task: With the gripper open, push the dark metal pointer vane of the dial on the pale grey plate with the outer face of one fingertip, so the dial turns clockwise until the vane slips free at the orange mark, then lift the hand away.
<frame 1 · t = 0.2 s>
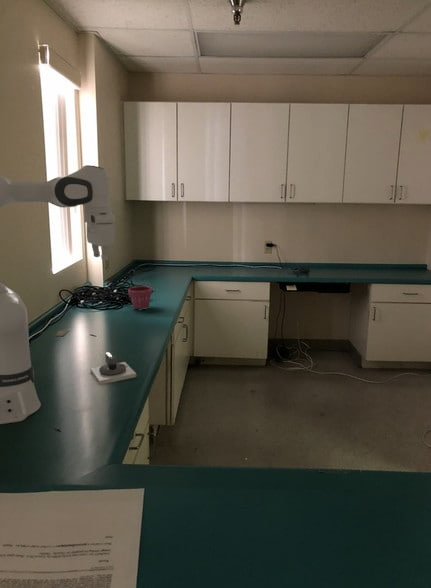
hand: (100, 258, 150), 47 cm above the worktop, tool pointing down, fingers open, 8 cm apart
dial: (111, 363, 173), point 4 cm above the worktop, hinge at 0.0°
plant pot: (141, 309, 275), on the worktop
dial base: (113, 374, 173), on the worktop
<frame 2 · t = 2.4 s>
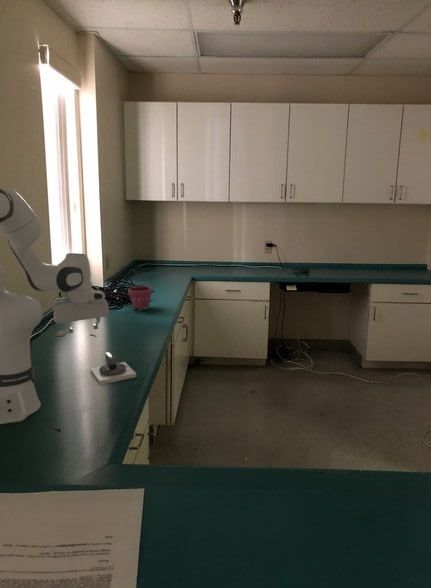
hand: (83, 330, 170), 18 cm above the worktop, tool pointing down, fingers open, 8 cm apart
nothing on the worktop moved.
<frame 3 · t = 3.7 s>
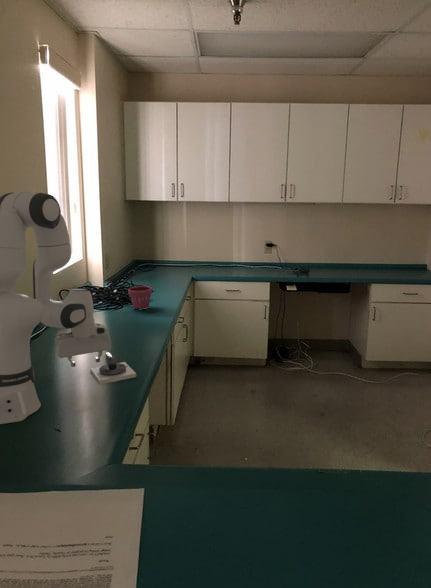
hand: (85, 364, 173), 4 cm above the worktop, tool pointing down, fingers open, 8 cm apart
nothing on the worktop moved.
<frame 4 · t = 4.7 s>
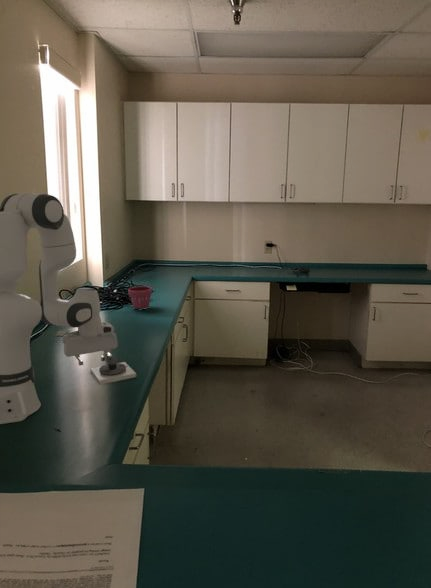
hand: (92, 362, 174), 4 cm above the worktop, tool pointing down, fingers open, 7 cm apart
dial: (111, 363, 173), point 4 cm above the worktop, hinge at 0.0°, touching gripper
everything else where it was.
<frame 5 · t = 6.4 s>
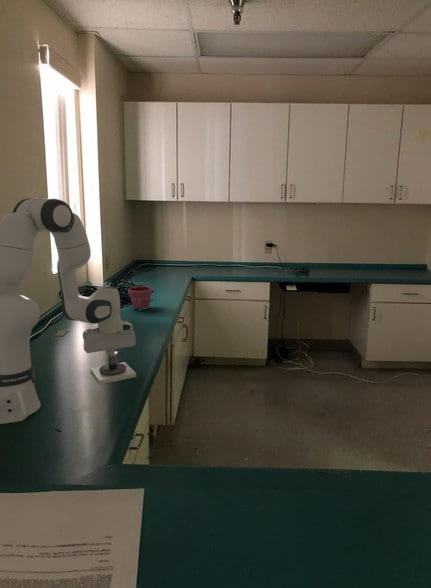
hand: (110, 359, 178), 4 cm above the worktop, tool pointing down, fingers closed
dial: (113, 363, 173), point 4 cm above the worktop, hinge at -30.2°, touching gripper
everything else where it was.
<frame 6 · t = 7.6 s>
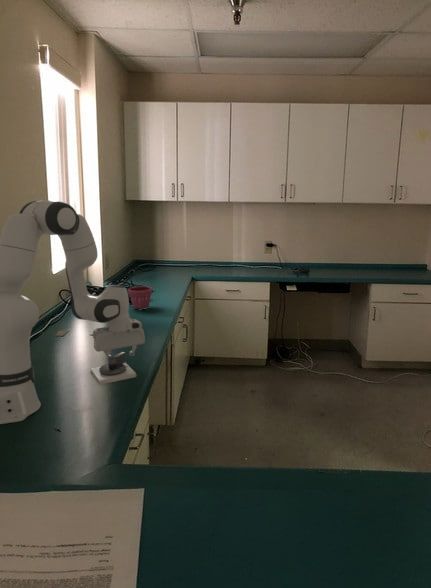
hand: (120, 357, 180), 4 cm above the worktop, tool pointing down, fingers open, 8 cm apart
dial: (114, 363, 173), point 4 cm above the worktop, hinge at -56.9°
everything else where it was.
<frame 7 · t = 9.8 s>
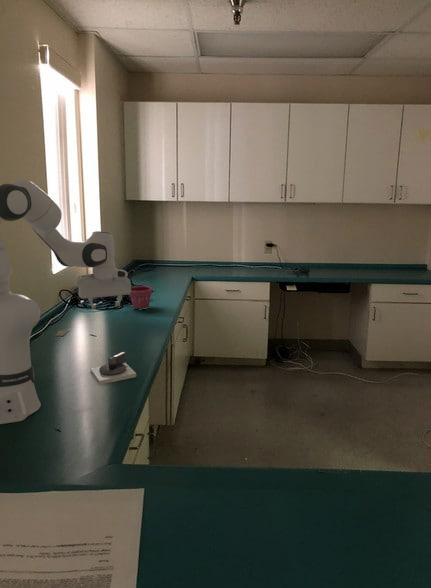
hand: (106, 307, 177), 25 cm above the worktop, tool pointing down, fingers open, 8 cm apart
nothing on the worktop moved.
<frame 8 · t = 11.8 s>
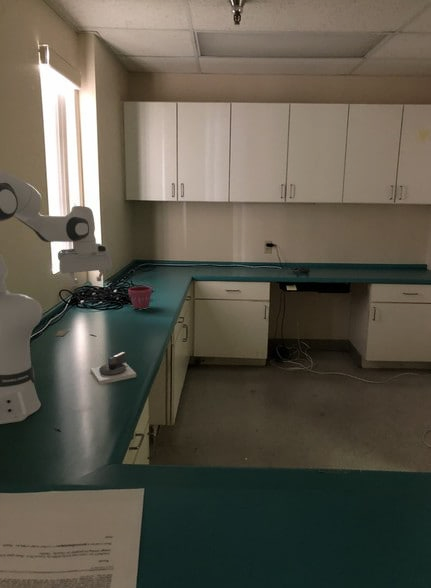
hand: (87, 282, 179), 34 cm above the worktop, tool pointing down, fingers open, 8 cm apart
nothing on the worktop moved.
at the end: dial at -57° (first picture: +0°) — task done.
